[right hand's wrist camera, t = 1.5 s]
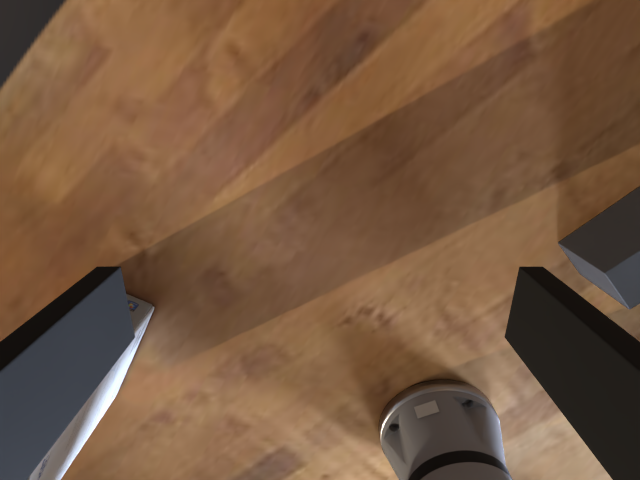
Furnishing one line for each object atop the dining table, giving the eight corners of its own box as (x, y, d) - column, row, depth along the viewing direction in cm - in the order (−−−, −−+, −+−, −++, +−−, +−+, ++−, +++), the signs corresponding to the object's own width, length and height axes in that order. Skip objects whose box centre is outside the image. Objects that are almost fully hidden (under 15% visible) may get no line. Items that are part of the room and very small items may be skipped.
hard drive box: (91, 276, 42) (-90, 424, 23) (157, 303, 43) (36, 465, 25) (57, 374, 47) (-112, 560, 29) (118, 396, 48) (-7, 588, 30)
